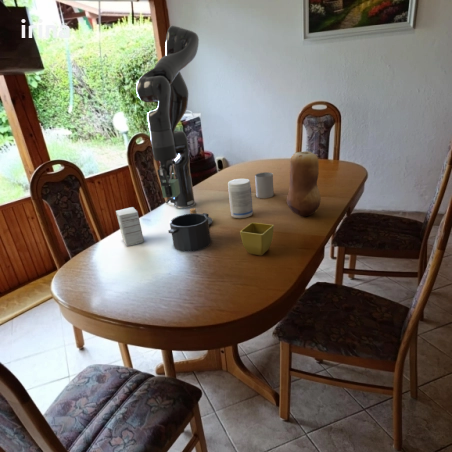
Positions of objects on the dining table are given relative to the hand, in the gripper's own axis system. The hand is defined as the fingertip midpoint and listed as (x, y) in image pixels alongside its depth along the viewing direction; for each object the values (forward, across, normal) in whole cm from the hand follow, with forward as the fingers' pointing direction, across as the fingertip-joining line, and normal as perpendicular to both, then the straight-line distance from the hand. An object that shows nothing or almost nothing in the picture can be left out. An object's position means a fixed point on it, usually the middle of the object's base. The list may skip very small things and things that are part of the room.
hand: (171, 194), depth 143 cm
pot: (+19, 0, -5) cm, 20 cm away
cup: (+20, +56, -28) cm, 66 cm away
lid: (+19, +20, -1) cm, 28 cm away
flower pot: (+20, -8, -31) cm, 38 cm away
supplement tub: (+20, +30, -20) cm, 41 cm away
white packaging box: (+20, +4, +21) cm, 29 cm away
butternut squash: (+20, +28, -46) cm, 57 cm away
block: (0, 0, 0) cm, 0 cm away
